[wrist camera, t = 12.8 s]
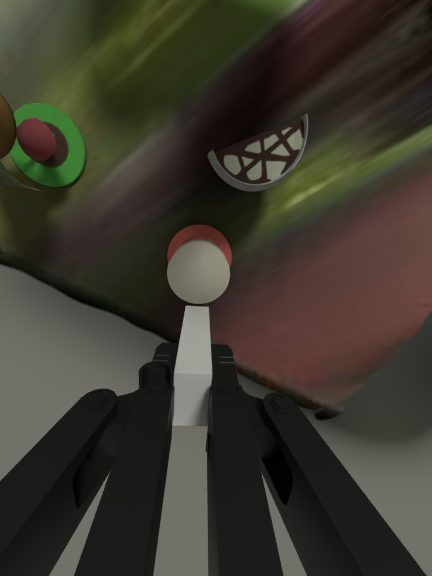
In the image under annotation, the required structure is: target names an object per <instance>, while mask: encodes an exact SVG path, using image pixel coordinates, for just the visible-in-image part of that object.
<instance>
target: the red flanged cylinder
mask: <svg viewBox="0 0 432 576" xmlns="http://www.w3.org/2000/svg"><path fill="white" fill-rule="evenodd" d="M192 239H205V240H209V241H211V242H213V243H215V244H216V245H217V246H218V247H219V248H220V249H221V250H222V252H223V254H224V255H225V258H226V260H227V262H228V265H229V269H230V266H231V261H232V253H231V248H230V245H229V243H228V241H227V240H226V238H225V237H224V236H223V235H222V233H220V232H219V231H218V230H216V229H215V228H213V227H210V226H207V225H191V226H188V227H186V228H184V229H182V230H181V231H179V232H178V233H177V234H176V235H175V236H174V237H173V239H172V240H171V242H170V245H169V247H168V252H167V261H168V264H169V262H170V260H171V258H172V256H173V255H174V253H175V251H176V250H177V249H178V248H179V247H180V246H181V245H182V244H183V243H185V242H187V241H189V240H192Z"/></svg>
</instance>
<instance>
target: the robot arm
mask: <svg viewBox="0 0 432 576" xmlns="http://www.w3.org/2000/svg"><path fill="white" fill-rule="evenodd" d="M207 424H208V431H207V441H206V451H207V487H208V488H207V490H208V492H207V494H208V573H209V574H208V575H209V576H283V571H282V567H281V562H280V558H279V553H278V548H277V543H276V539H275V534H274V530H273V525H272V520H271V516H270V511H269V506H268V502H267V497H266V492H265V488H264V483H263V479H262V474H263V477H264V479H265V481H266V483H267V486H268V488H269V490H270V492H271V495H272V497H273V499H274V501H275V504H276V506H277V508H278V511H279V513H280V515H281V517H282V519H283V522H284V524H285V526H286V529H287V531H288V533H289V536H290V538H291V540H292V542H293V545H294V547H295V549H296V551H297V554H298V556H299V558H300V561H301V563H302V565H303V567H304V569H305V571H306V574H307V576H426V574H425V573H424V572H423V570H422V569H421V568H420V566H419V565H418V564H417V562H416V561H415V560H414V558H413V557H412V556H411V555H410V553H409V552H408V551H407V549H406V548H405V547H404V545H403V544H402V543H401V541H400V540H399V539H398V537H397V536H396V535H395V533H394V532H393V531H392V530H391V528H390V527H389V526H388V524H387V523H386V522H385V520H384V519H383V518H382V516H381V515H380V514H379V512H378V511H377V510H376V508H375V507H374V506H373V504H372V503H371V502H370V500H369V499H368V498H367V497H366V495H365V494H364V493H363V491H362V490H361V489H360V487H359V486H358V485H357V483H356V482H355V481H354V479H353V478H352V477H351V476H350V474H349V473H348V471H347V470H346V469H345V468H344V466H343V465H342V464H341V462H340V461H339V460H338V458H337V457H336V456H335V454H334V453H333V452H332V450H331V449H330V448H329V446H328V445H327V444H326V442H325V441H324V440H323V439H322V437H321V436H320V435H319V433H318V432H317V431H316V429H315V428H314V427H313V426H312V424H311V423H310V421H309V420H308V419H307V417H306V416H305V415H304V414H303V412H302V411H301V410H300V408H299V407H298V406H297V404H296V403H295V402H294V401H293V400H292V399H291V398H290V397H288V396H286V395H284V394H281V393H270V394H268V395H266V396H265V397H264V399H260V398H257V397H253V396H251V395H249V394H247V393H246V392H244V390H243V389H242V386H241V385H239V383H238V378H237V373H236V368H235V363H234V358H233V353H232V350H231V349H230V347H229V346H228V345H220V344H211V342H210V323H209V307H199V306H186V307H185V313H184V319H183V325H182V330H181V336H180V342H179V343H161V344H160V345H159V346H158V347H157V348H156V351H155V354H154V357H153V361H152V362H149V363H146V364H145V365H143V366H142V367H141V368H140V370H139V389H138V390H136V391H134V392H133V393H129V394H126V395H121V396H117V395H116V394H115V392H114V391H112V390H109V389H97V390H93V391H91V392H89V393H87V394H85V395H84V396H83V397H82V398H81V399H80V400H79V401H78V402H77V403H76V404H75V405H74V406H73V407H72V408H71V409H70V410H69V411H68V412H67V413H66V414H65V415H64V416H63V417H62V418H61V419H60V420H59V421H58V422H57V423H56V424H55V426H53V427H52V428H51V429H50V430H49V432H48V433H47V434H46V435H45V436H44V437H43V438H42V439H41V440H40V441H39V442H38V443H37V444H36V445H35V446H34V447H33V448H32V449H31V450H30V451H29V452H28V453H27V454H26V455H25V456H24V457H23V458H22V460H20V462H18V464H16V465H15V467H14V468H13V469H12V470H11V471H10V472H9V473H8V474H7V475H6V476H5V477H4V478H3V479H2V480H1V481H0V576H49V575H50V573H51V571H52V569H53V568H54V566H55V564H56V563H57V561H58V559H59V558H60V556H61V554H62V552H63V551H64V549H65V547H66V546H67V544H68V542H69V540H70V539H71V537H72V535H73V533H74V532H75V530H76V528H77V527H78V525H79V523H80V522H81V520H82V518H83V517H84V515H85V513H86V511H87V510H88V508H89V506H90V505H91V503H92V501H93V499H94V498H95V496H96V494H97V492H98V491H99V489H100V487H101V486H102V484H103V482H104V481H105V478H106V477H107V476H108V474H109V472H110V474H109V477H108V479H107V482H106V485H105V488H104V491H103V494H102V497H101V500H100V502H99V505H98V508H97V511H96V514H95V517H94V520H93V523H92V525H91V528H90V532H89V534H88V538H87V540H86V543H85V546H84V549H83V551H82V554H81V557H80V560H79V563H78V566H77V569H76V572H75V574H74V576H153V572H154V565H155V558H156V550H157V543H158V535H159V528H160V520H161V513H162V505H163V498H164V490H165V483H166V475H167V468H168V460H169V453H170V445H171V438H172V425H174V426H177V425H178V426H207ZM110 470H111V471H110ZM261 472H262V474H261Z"/></svg>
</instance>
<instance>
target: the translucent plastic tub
mask: <svg viewBox="0 0 432 576" xmlns="http://www.w3.org/2000/svg"><path fill="white" fill-rule="evenodd" d="M9 152H10V153H11V156H12V158H13V160H14V161H15V163H16V164H17V166H18V167H19V168H20V170H21V171H22V172H23V173H24V174H26V175H27V176H28V177H29V178H31V179H32V180H34V181H35V182H37V183H40V184H42V185H46V186H51V187H62V186H66V185H69V184H71V183H73V182H74V181H75V180H76V179H78V177H79V176H80V175H81V173H82V172H83V169H84V167H85V163H86V147H85V143H84V139H83V137H82V135H81V132H80V131H79V129H78V127H77V126H76V125H75V123H74V122H73V121H72V120H71V119H70V118H69V117H68V116H67V115H66V114H64V113H63V112H62V111H60V110H59V109H57V108H55V107H53V106H51V105H48V104H43V103H30V104H27V105H24V106H22V107H20V108H19V109H18V110H17V111H16V112H15V113H14V114H13V112H12V110H11V108H10V106H9V104H8V102H7V101H6V100H5V98H4V97H3V95H2V94H1V93H0V159H1V158H3V157H5V156H6V155H7V154H8V153H9ZM0 184H3V185H6V186H10V187H14V188H19V189H32V190H38V189H35V188H32V187H29V186H27V185H25V184H23V183H21V182H20V181H18V180H17V179H16V178H15V177H13V176H12V175H11V174H10V173H9V172H8V171H7V169H6V168H5V167H4V166H3V165H2V164H1V163H0ZM39 191H42V190H39Z"/></svg>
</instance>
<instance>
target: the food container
mask: <svg viewBox="0 0 432 576" xmlns="http://www.w3.org/2000/svg"><path fill="white" fill-rule="evenodd" d="M307 133H308V118H307V114H305V115H304V116H303V117H302V118H300V119H299V120H296V121H294V122H292V123H289V124H287V125H284V126H281V127H278V128H276V129H273V130H270V131H267V132H265V133H262V134H259V135H256V136H254V137H251V138H249V139H247V140H244V141H241V142H239V143H236V144H234V145H231V146H228V147H226V148H223V149H221V150H218V151H216V152H213V150H212V151H211V152H209V153H208V155H207V156H208V158H209V161H210V163H211V165H212V167H213V168H214V170H215V171H216V173H217V174H218V175H219V176H220V177H221V178H222V179H223V180H224V181H225V182H226V183H228V184H229V185H231V186H232V187H235V188H237V189H240V190H244V191H251V192H255V191H262V190H266V189H269V188H271V187H273V186H275V185H277V184H278V183H280V182H281V181H283V180H284V179H285V178H286V177H287V176H288V175H289V174H290V172H291V171H292V170H293V169H294V167H295V166H296V164H297V163H298V161H299V159H300V157H301V155H302V153H303V151H304V147H305V144H306V139H307Z"/></svg>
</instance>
